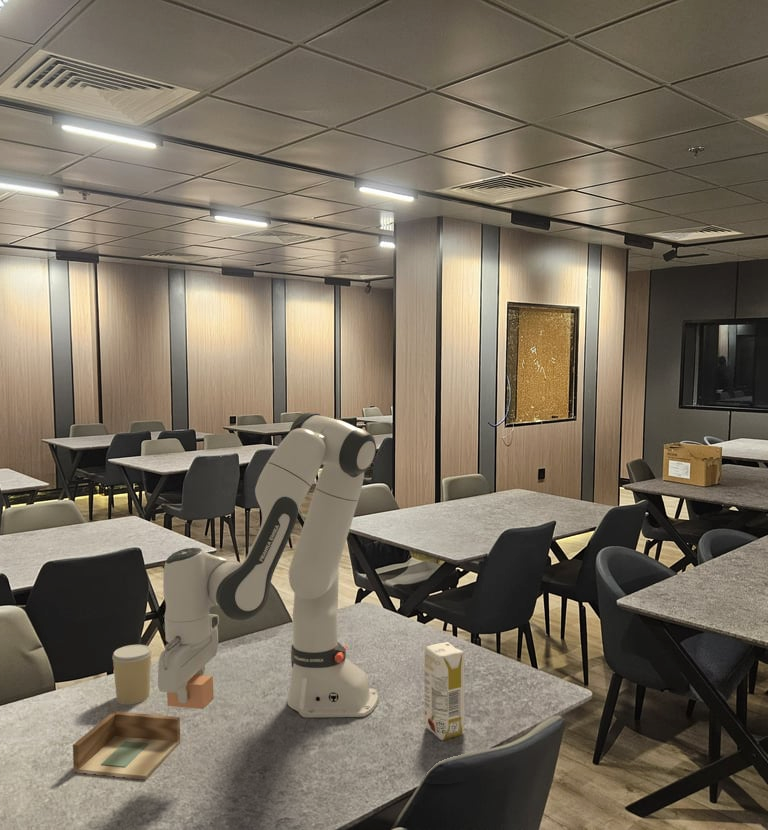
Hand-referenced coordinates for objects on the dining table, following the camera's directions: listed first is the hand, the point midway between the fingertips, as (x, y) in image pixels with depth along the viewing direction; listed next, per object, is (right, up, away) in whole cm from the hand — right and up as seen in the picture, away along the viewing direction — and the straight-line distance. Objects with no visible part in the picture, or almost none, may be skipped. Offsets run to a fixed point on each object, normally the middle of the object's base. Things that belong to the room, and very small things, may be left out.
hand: (190, 694), depth 149 cm
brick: (0, -2, 0) cm, 2 cm away
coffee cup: (-23, -14, +33) cm, 43 cm away
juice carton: (+54, -14, +15) cm, 57 cm away
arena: (-14, -15, +5) cm, 21 cm away
